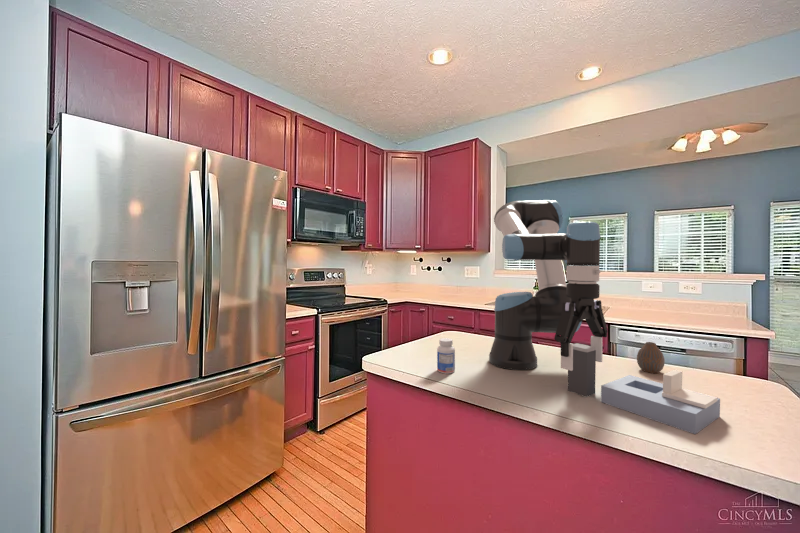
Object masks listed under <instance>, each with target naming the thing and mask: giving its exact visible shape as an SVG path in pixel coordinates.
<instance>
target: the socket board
mask: <svg viewBox="0 0 800 533" xmlns="http://www.w3.org/2000/svg"><path fill="white" fill-rule="evenodd" d="M600 386H601V388H600V402H601V403H603V404H606V405H609V406H612V407H614V408H618V409H621V410H623V411H626V412H628V413H629V412H630V413H632V414H636V415H638V416H640V417H644V418H647V419H650V420H652V421H656V422H658V423H661V424H664V425H667V426H670V427H673V428H676V429H678V430H680V431H681V430H682V431H685V432H688V433H691V434H693V435H696V434H698V433H699V432H701V431H702V430H703V429H705V428H706V427H708V426H709V425H711V424H712V423H713V422H714V421H716V420H718V419H719V418H720V417H721V398H719V397H718V401H717V402H715V403H714V404H712V405H711V406H709V407H707V408H706V409H705V408H701V407H698V406H694V405H691V404H687V403H684V402H680V401H677V400H673V399H670V398H666V397H663V396H662V392H663V382H662V383H661V382H658V381H654V380H651V379H646V378H643V377H640V376H634V375H632V374H628V375H625V376H622V377H621V378H617V379H615V380H612V381H610V382H607V383H605V384H602V385H600Z"/></svg>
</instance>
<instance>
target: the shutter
mask: <svg viewBox="0 0 800 533" xmlns="http://www.w3.org/2000/svg"><path fill="white" fill-rule="evenodd" d="M662 384H663V392H662V396H663V397H666V398H670V399H673V400H677V401H680V402H684V403H687V404H691V405H694V406H698V407H701V408H705V409H706V408H707V407H709V406H711V405H712V404H714V403H715V402H717V401H718V398H719V397H717V396H714V395H709V394H706V393H703V392H702V393H701V392H698V391H695V390H691V389H688V388H683V371H682V370H678V369H672V370H670V371H668V372H665V373H663V375H662Z"/></svg>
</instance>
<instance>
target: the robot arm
mask: <svg viewBox="0 0 800 533" xmlns="http://www.w3.org/2000/svg"><path fill="white" fill-rule="evenodd" d="M563 219H564V217H563V210H562V207H561V204H560V203H559V202H558V201H557V200H555V199H554V200H553V199H552V200H550V199H543V200H541V199H539V200H513V201H510V202H507V203H505V204H503V205H501V206H500V207H499V208H498V209H497V211H496V212H495V214H494V216H493V222H494V226H495V228H496V229H497V230H498V231H499V232H500V233H501V234H502V235H503V238H502V243H501V244H502V245H501V248H502V249H501V250H502V251H501V253H502V256H503V258H504V259H505V260H508V261H509V260H511V261H534V264H535V271H536V272H535V273H536V278H537V284H538V290H537V291H536V292H535V294H534V295H535V296H534V295H533V293H532V291H514V292H513V291H512V292H506V293H502V294H499V295H497V296H496V297H495V302H494V309H493V310H494V340H493V343H492V345H491V348H490V351H489V354H488V356H489V357H488V362H489V363H490V364H492V365H493V366H495V367H498V368H502V369H506V370H516V371H519V370H520V371H524V370H525V371H527V370H532V369H535V368H537V367H538V357H537V355H536V351H535V347H534V344H533V341H532V340H533V338H532V336H533V333H547V334H555V335H554V338H553V339H554V340H555V341H556V342H557V343H560V369H563V370H565V371H566V370H567V371H568V370H570V371H572V370H573V344H574V343H572V340H573V338H574V335H576V334H575V333H576V332H578V331H579V330H580V328H581V325H582V323H583V321H584V320H585V321H586V324H587V325H588V328H589V330H590V332H591V334H592V335H591V336H590V346H592V347H595V350H596V363H597V362H598V363H603V338H607V337H608V331H609V330H608V328H607V327H608V326H607V322H606V320H605V315H604V313H603V308H602V300H600V299H599V298H600V287H601V286H600V285H599V283H598V282H600V273H601V270H600V251H601V248H600V247H601V231H600V225H599V223H597V222H595V221H578V222H577V221H576V222H571V223H569V224H568V225H567V227H566V232H565V233H558V232H559V230H560V229H561V228H562V225H563V221H564V220H563ZM562 261H566V271H565V272H566V274H564V273H565V272H564V268H563V263H562ZM566 281H567V283H566Z"/></svg>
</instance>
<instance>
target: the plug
mask: <svg viewBox="0 0 800 533" xmlns="http://www.w3.org/2000/svg"><path fill="white" fill-rule="evenodd" d="M572 344H573V370H572V371H570V370H567V392H571V393H574V394H575V395H576V394H577V395H580V396H583V397H585V398H588V397H590V396H593V395H596V369H597V368H596V367H597V366H596V363H597V361H596V350H595V347H592V346H591V345H588V344H582V343H578V342H576V343H572Z"/></svg>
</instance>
